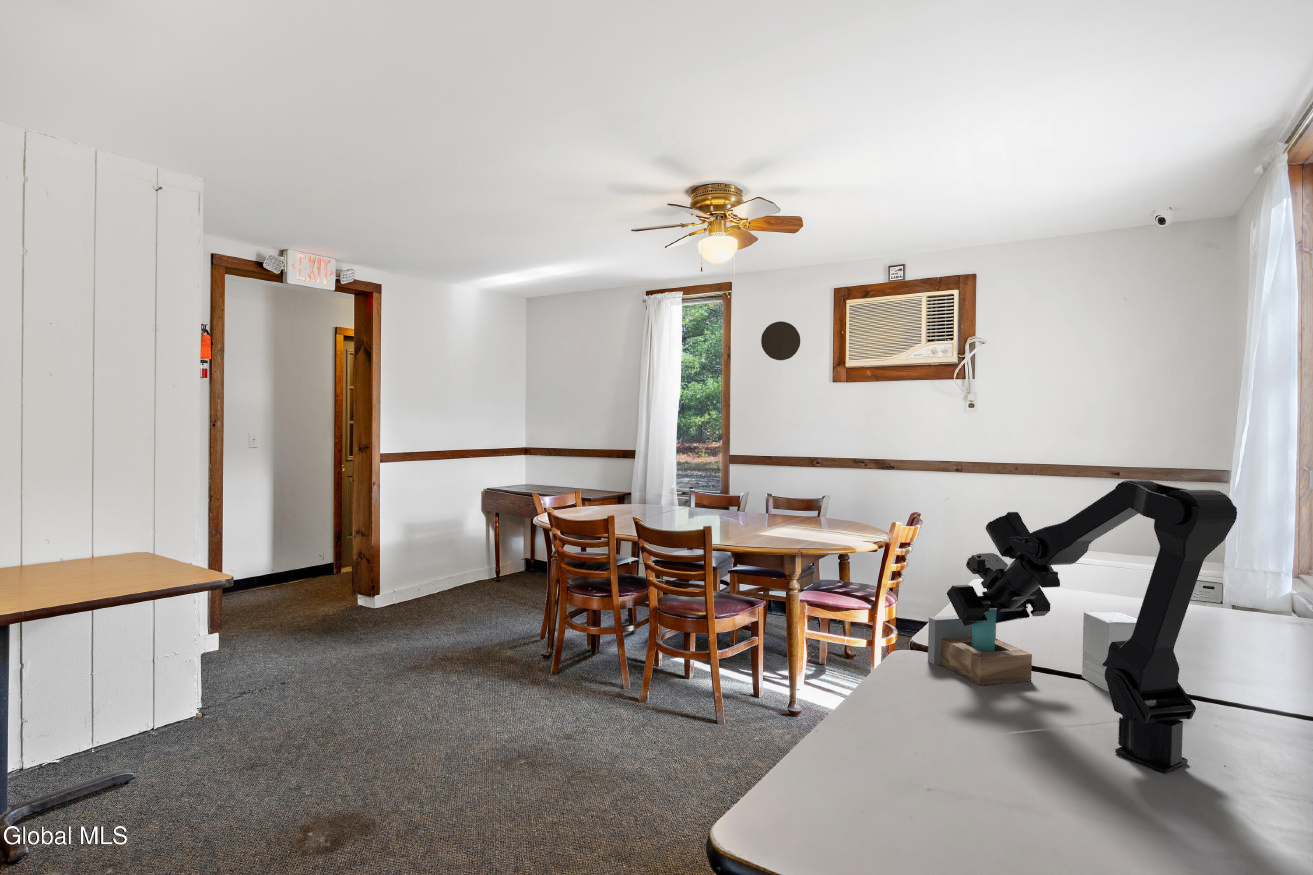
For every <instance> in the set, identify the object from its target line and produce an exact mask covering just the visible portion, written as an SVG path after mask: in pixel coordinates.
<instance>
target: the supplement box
mask: <svg viewBox="0 0 1313 875" xmlns="http://www.w3.org/2000/svg"><path fill="white" fill-rule="evenodd" d="M1082 621H1083V625H1082V632H1083V633H1082V662H1081V666H1082V667H1081V669H1082V670H1081V678H1083V679H1085V680H1086V681H1088V682H1089V683H1090V684H1093V685H1095V686H1097V687H1098V688H1099V689H1101V690H1103V691H1105V692H1109V689H1108V685H1107V682H1106V681H1105V669H1106V667H1107V666H1103V665H1102V664H1103V663H1104V662H1105V661H1106V659H1107V656H1108V650H1109V646H1110V644H1111V642H1115V641H1128V640H1129V639H1130V638H1131V636H1132V634H1133V631H1134V628H1135V625H1136V622H1137V618H1135V617H1133V616H1131V615H1128V614H1126V613H1123V612H1120V611H1119V612H1116V611H1109V612H1108V611H1083V620H1082Z"/></svg>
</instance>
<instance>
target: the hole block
mask: <svg viewBox="0 0 1313 875" xmlns="http://www.w3.org/2000/svg"><path fill="white" fill-rule="evenodd" d="M971 643H972V637H962V638H947V639H941V664H940V665H942V666H943V667H945V668H947V669H949V670H951V671H953V672H955V673H956V674H958V675H960V676H961V677H964V678H965V679H967V680H969V681H971V682H973V683H974V684H977V685H978V686H987V685H988V686H989V685H1000V684H1002V685H1003V684H1012V683H1013V684H1014V683H1023V682H1032V670H1033V668H1032V665H1033V664H1032V663H1033V661H1032V660H1033V653H1030V652H1029V651H1026V650H1023V649H1021V648H1019V647H1017V646H1014V645H1012V644H1009V643H1007V642H1005V641H1003V640H1000V639H998V638H997V637H996V638H995V652H981V651H979V650H977V649H974V648H972V647H971Z"/></svg>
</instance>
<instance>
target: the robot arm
mask: <svg viewBox="0 0 1313 875" xmlns="http://www.w3.org/2000/svg"><path fill="white" fill-rule="evenodd" d="M1138 514H1140V515H1141V516H1143V517H1146V518H1148V519H1151V520H1153V521H1154V522H1153V529H1154V532H1155V533H1154V534H1155V535H1156V538H1157V542H1158V544H1159V550H1158V554H1157V557H1156V559H1155V562H1154V566H1153V568H1152V572H1151V575H1150V577H1149V581H1148V584H1147V588H1146V591H1145V594H1144V597H1143V600H1142V602H1141V606H1140V609H1139V612H1138V616H1137V618H1136V619H1137V622H1136V625H1135V628H1134V631H1133V634H1132V636H1131V638H1130V639H1129V640H1128V641H1115V642H1111V644H1110V646H1109V650H1108V656H1107V659H1106V661H1105V662H1104V663H1103V664H1102V665H1103V666H1107V667H1106V669H1105V681H1106V682H1107V685H1108V689H1109V696H1110V700H1111V703H1112V708H1113V710H1114V712H1116V713H1118V714H1120V715H1121V716H1120V717H1119V718H1118V734H1117V735H1118V738H1117V739H1118V742H1117V744H1118V745H1119V747H1117V748H1115V749H1114V750H1115V751H1114V753H1115V754H1117V755H1119V756H1121V757H1124V758H1127V759H1129V760H1131V761H1133V762H1137V763H1139V764H1141V765H1144V766H1147V767H1148V768H1152V769H1153V770H1156V771H1159V772H1161V773H1168V772H1172V771H1174V770H1175V769H1178V768H1180V767H1182V766H1184V765H1187V764H1188V763H1189V762H1188V761H1189V760H1188V758H1186V757H1183V734H1184V733H1183V732H1184V731H1183V729H1184V728H1183V727H1184V722H1183V720H1188V721H1189V720H1192V718H1193V716H1194V715H1195V712H1196V710H1197V706H1196V705H1195V704H1194V702H1193V701H1192V700H1191V698H1190V697H1189V695H1188V694H1187V692H1186V691H1185V690H1184V688H1183V687H1182V686H1181V684H1180V683H1179V677H1180V676H1179V674H1180V665H1179V662H1178V659H1177V657H1176V654H1175V645H1176V643H1177V640H1178V637H1179V635H1180V631H1181V629H1182V625H1183V622H1184V619H1185V616H1186V613H1187V611H1188V607H1189V605H1190V602H1191V599H1192V597H1193V593H1194V589H1195V587H1196V584H1197V581H1198V579H1199V576H1200V573H1201V569H1202V567H1203V564H1204V561H1205V559H1206V558H1207V557H1208V555H1210V554H1211V553H1212V552H1213V551H1214V550H1215V549H1216V548H1218V547H1219V546H1220V545H1221V544H1222V543H1223V542H1224V541H1225V540H1226V538H1227V536H1228V534H1229V533H1230V531H1232V528H1233V526H1234V525H1235V523H1236V520H1237V519H1238V518H1237V516H1238V508H1237V506H1235V505H1234V503H1233V501H1232V499H1231V498H1230V497H1229V496H1228V495H1227V494H1226V493H1223V492H1221V491H1220V490H1216V489H1187V488H1183V487H1182V488H1181V487H1176V486H1171V485H1170V486H1169V485H1166V484H1161V483H1158V482H1154V481H1153V480H1150V479H1148V480H1147V479H1146V480H1145V479H1144V480H1143V479H1142V480H1139V479H1138V480H1137V479H1135V480H1131V479H1130V480H1129V479H1127V480H1122V481H1121V482H1119V483H1118V484H1117V485H1116V486H1115V488H1114V489H1112V490H1111V491H1109V492H1108V493H1106V494H1105V495H1103V496H1101V497H1100V498H1099V499H1096V501H1094V502H1092V503H1091V504H1090V505H1088V506H1086V507H1085V508H1083V509H1082V510H1080V511H1078V513H1076V514H1073V516H1071V517H1070V518H1068V519H1067V520H1064V521H1062V522H1059V523H1057V524H1056V523H1055V524H1052V525H1047V526H1044V527H1041V528H1039V529H1037V530H1034V531H1032V532H1030V530H1029V529H1028V528H1027V526H1026V524H1025V523H1024V521H1023V519H1022V516H1021V515H1020V513H1019V512H1018V511H1008V512H1006V514H1005V515H1001V516H998V517H997V518H994V519H993V520H992V521H989V522H987V524H986V526H985V531H986V533H987V535H988V536H989V538H990V539H991V541H992V543H993V545H994V546H995V548H996V549H997V551H998V553H999V555H1000V556H999V555H998V554H997V553H992V552H988V553H987V552H986V553H984V552H983V553H982V552H981V553H976V554H972V555H971V556H969V557H968V559H967V561H966V564H965V567H966V568H967V570H968V571H969V572H970V573H971V574H973V575H977V576H979V577H980V579H982V581H981V582H980V585H981V587H982V588H983V589H986V591H982V592H981V595H978V593H977V592H976V590H975V588H974V586H972V585H970V584H956V585H951V587H950V588H948V589H947V592H946V595H947V597H948V600H949V601H950V603H951V605H952V607H953V609H954V611H955V613H956V616H958V617H959V619H961V620H962V622H963V624H964V626H968V625H972V624H976V623H979V622H983V621H986V620H988V619H987V618H986V616H985V613H987V612H989V609H996V624H1000V623H1006V622H1010V621H1011V622H1012V621H1017V620H1022V619H1028V618H1030V614H1031V616H1032V617H1045V616H1046V615H1047V614H1048V613H1049V612H1051V602H1050V601H1049V599H1048V597H1047V596H1046V594H1045V593H1044V591H1043V588H1044V589H1045V588H1060V587H1061V581H1060V578H1059V572H1058V571H1057V570H1056V571H1055V570H1054V568H1053V567H1052V566H1064V565H1065V566H1066V565H1067V566H1068V565H1073V564H1075V563H1077V562H1078V561H1079V560H1080V559H1081V558H1082V557H1083V556H1084V555H1086V553H1088V551H1089V547H1090V545H1091V544H1092V543H1093V542H1094V541H1095V540H1097V539H1099V538H1100V537H1102V536H1104V535H1105V534H1107V533H1109V532H1110V531H1112V530H1114V529H1115V528H1117V527H1119V526H1120V525H1122V524H1123V523H1125V522H1127V521H1129V520H1131V519H1132V518H1134V517H1135V516H1137V515H1138ZM1002 557H1004V558H1009V559H1011V560H1013V561H1011V563H1010V564H1008V563H1007V562H1006V561H1005V560H1004V559H1003V558H1002ZM1029 606H1031V609H1032V610H1030V613H1029V611H1028V608H1029ZM1149 701H1155V702H1149ZM1146 702H1148V703H1146Z"/></svg>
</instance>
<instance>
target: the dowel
mask: <svg viewBox="0 0 1313 875" xmlns="http://www.w3.org/2000/svg"><path fill="white" fill-rule="evenodd" d="M985 616H986V618H987V619H988V620H986V621H983V622H979V623H976V624H972V643H971V647H972V648H974V649H977V650H979V651H981V652H995V628H996V629H997V623H996V609H989V612H987V613H985Z"/></svg>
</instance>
